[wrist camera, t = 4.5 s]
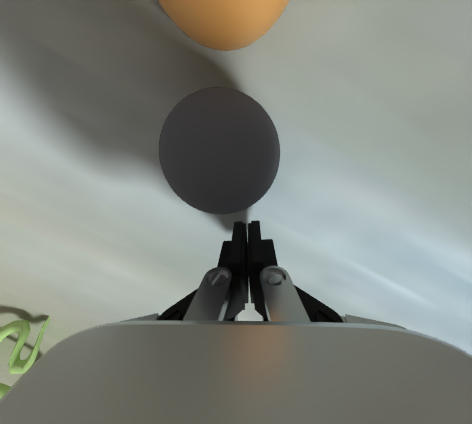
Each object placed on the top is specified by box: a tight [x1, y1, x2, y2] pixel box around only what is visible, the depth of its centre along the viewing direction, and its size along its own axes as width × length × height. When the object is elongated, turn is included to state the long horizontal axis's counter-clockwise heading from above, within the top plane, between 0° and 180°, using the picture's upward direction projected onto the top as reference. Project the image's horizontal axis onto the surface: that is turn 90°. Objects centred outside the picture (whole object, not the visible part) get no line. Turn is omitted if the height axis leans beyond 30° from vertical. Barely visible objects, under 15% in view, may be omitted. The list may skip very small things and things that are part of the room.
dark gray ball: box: [159, 87, 280, 214], centre depth 8 cm, size 6×6×6 cm
